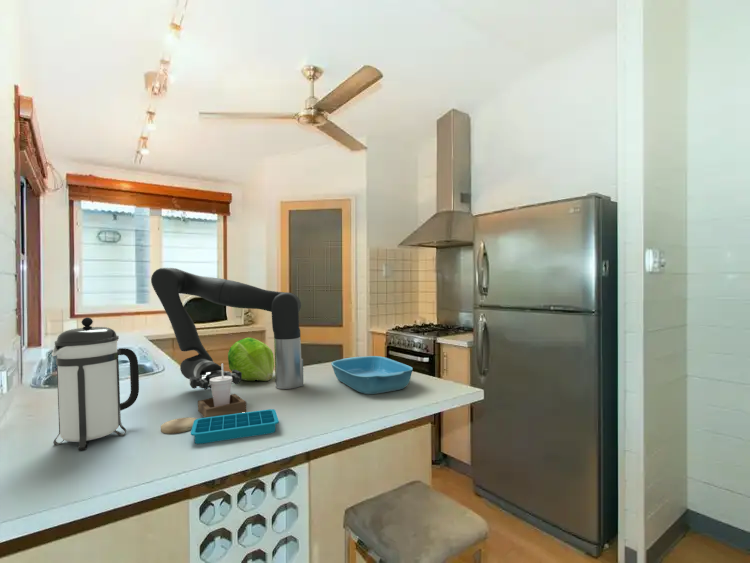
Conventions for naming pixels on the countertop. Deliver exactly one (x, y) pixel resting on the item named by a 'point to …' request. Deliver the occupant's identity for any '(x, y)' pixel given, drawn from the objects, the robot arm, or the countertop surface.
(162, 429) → the trivet
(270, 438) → the countertop surface
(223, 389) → the smoothie
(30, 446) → the countertop surface
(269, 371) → the lettuce
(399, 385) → the casserole dish
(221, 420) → the ice cube tray
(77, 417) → the coffee press
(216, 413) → the square wooden frame
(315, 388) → the countertop surface
